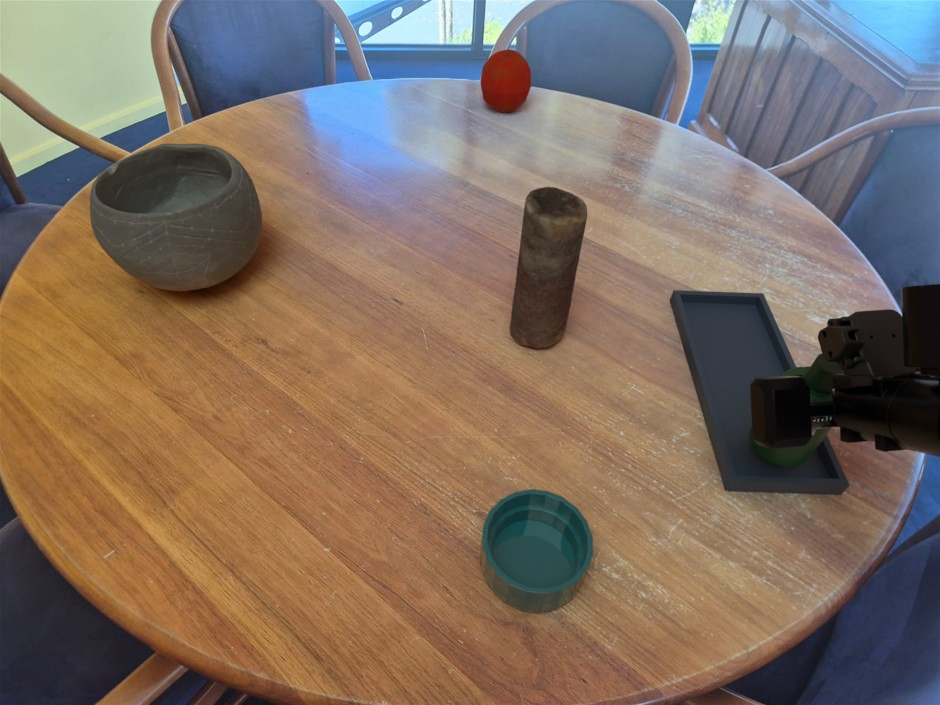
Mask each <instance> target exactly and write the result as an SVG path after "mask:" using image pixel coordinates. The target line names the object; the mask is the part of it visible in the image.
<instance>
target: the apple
mask: <svg viewBox="0 0 940 705" xmlns="http://www.w3.org/2000/svg"><path fill="white" fill-rule="evenodd" d="M481 68H482V69H481V75H480V88H481V94H482V99H483V101H484V102H485V103H486V104H487V105H489V106H490V107H491V108H492V109H494V110H496V111H498V112H500V113H511V112H514V111H516V110H517V109H518V108H520V107H521V106H522V105H523V104H524V103H525V102H526V101H527V99H528V97H529V93H530V90H531V87H532V72H531V67H530V65H529V63H528V61H527V59H526V58H525V57H524V55H522V54H521V53H519V52H518V51H516V50H514V49H509V48H507V49H503V50H499V51H496V52H495V53H493V54H491V56H490V57H489V58H488V59H487V60H486V62H485V63H484V65H483V66H482V67H481Z"/></svg>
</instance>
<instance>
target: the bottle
mask: <svg viewBox="0 0 940 705" xmlns="http://www.w3.org/2000/svg"><path fill="white" fill-rule="evenodd" d="M839 373H844V371H843V370H842V369H841V368H840V367H839V364H838V363H837V362H827V361H826V360H825V359H824V358H823V354H822V352H821V353H819V354H818V355H817V356H816V357H815V359H814V361H813V362H812V364H811V365H809V366H808V365H807V366H796V367H795V368H791V369H789V370H787V371H786V372H784V373H783V375H782V376H793V375H803V378H804V380H805V381H806V383H807V384H808V386H809V387H810V398H812V403H819V402H832V401H833V398H832V389H833V378H832V374H839ZM829 416H831V417H833V415H829ZM829 416H817V417H819V418H820V417H829ZM813 418H816V417H813ZM811 421H812V419H811ZM831 429H832V428H823V429H817V430H816V431H815V434H814V435H813V436H812V438H811V439H810V441H809V442H808V444H807V445H806V446H798V447H787V448H776V449H769V448H766V447H763V446H759V445H758V444H757V443H756V442H755V441H753V436H752V427H751V429H750V432H749V439H750V442H751V445H752V446H753V448H754V450H755V451H756V452H757V453H758V454H759V455H760V456H761V457H762V458H764V459H765V460H767V461H768V462H770V463H772V464H775V465H778V466H781V467H797V466H800V465H802V464H804V463H805V462H806V461H807V460H808V459H809V457H810V456H811V455H812V453H813V452H814V451H815V449H816V448H817V447H818V445H819V444H820V443H821V441H822V440H823V439H824V437H825V436H826V435H827V436H828V434H829V432H830V431H831Z"/></svg>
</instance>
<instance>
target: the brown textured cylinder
mask: <svg viewBox="0 0 940 705" xmlns="http://www.w3.org/2000/svg"><path fill="white" fill-rule="evenodd" d="M587 221H588V206H587V203H585V201H584V199H582V198H580V197H579V196H577V195H575V194H573V193H572V192H569V191H566V190H564V189H560V188H558V187H554V186H544V187H543V186H542V187H538V188H536V189H532V190H531V191H529V192H528V195H527V196H526V197H525V202H524V210H523V215H522V225H521V235H520V239H519V240H520V241H519V251H518V258H517V268H516V275H515V282H514V290H513V297H512V305H511V312H510V313H511V316H510V325H509V334H510V336H511V337H512V338H513V340H514V341H515V342H516V343H517V344H518V345H521V346H527V347H532V348H536V349H543V348H549V347H551V346H552V345H555V344H556V343H558V341H560V339H562V338H563V336H564V335H565V333H566V331H567V330H566V329H567V326H568V320H569V314H570V309H571V306H572V300H573V293H574V287H575V282H576V277H577V271H578V267H579V266H578V265H579V263H580V262H579V261H580V256H581V251H582V246H583V240H584V236H585V230H586V225H587Z"/></svg>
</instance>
